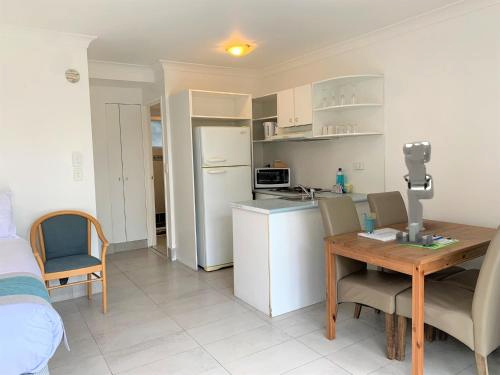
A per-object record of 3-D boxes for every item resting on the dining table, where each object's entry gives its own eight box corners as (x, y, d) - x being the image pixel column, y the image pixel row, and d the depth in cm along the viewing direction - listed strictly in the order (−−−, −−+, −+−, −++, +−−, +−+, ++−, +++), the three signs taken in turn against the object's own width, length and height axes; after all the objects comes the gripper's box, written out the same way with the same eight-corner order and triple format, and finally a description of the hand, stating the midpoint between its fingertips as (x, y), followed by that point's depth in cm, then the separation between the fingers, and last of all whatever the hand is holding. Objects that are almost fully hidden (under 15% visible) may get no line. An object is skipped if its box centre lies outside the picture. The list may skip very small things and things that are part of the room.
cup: (365, 234, 269) (365, 213, 268) (357, 233, 276) (357, 212, 275) (379, 232, 276) (379, 211, 275) (371, 230, 283) (370, 210, 282)
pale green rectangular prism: (413, 238, 247) (413, 222, 246) (418, 238, 245) (418, 223, 244) (409, 240, 241) (409, 224, 240) (415, 241, 239) (415, 225, 238)
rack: (400, 238, 254) (400, 230, 254) (433, 241, 242) (433, 233, 241) (394, 242, 244) (394, 233, 243) (428, 246, 232) (428, 237, 231)
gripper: (433, 162, 249) (433, 188, 251) (405, 162, 260) (405, 188, 261) (430, 162, 243) (430, 189, 245) (401, 163, 254) (401, 189, 255)
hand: (417, 188), depth 253 cm, fingers open, 9 cm apart
